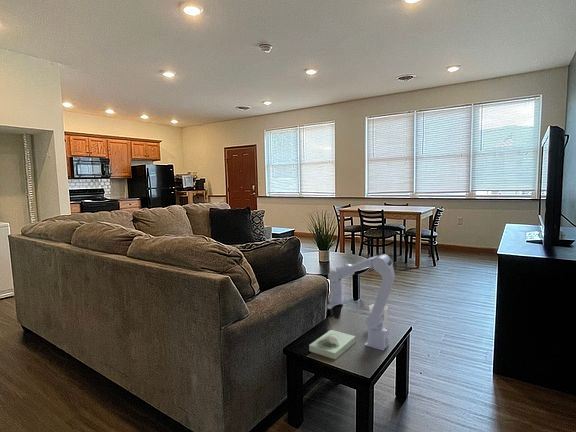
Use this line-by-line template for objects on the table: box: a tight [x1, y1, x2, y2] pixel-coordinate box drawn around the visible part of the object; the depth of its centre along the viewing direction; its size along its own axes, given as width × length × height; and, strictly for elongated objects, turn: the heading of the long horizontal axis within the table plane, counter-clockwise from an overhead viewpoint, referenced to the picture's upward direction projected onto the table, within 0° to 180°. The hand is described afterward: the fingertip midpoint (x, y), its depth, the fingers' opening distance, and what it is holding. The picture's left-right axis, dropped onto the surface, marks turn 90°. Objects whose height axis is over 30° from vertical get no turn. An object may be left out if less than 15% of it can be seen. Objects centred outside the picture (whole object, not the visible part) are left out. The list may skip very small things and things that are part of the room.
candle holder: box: [368, 303, 389, 330], centre depth 181 cm, size 10×10×12 cm
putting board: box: [308, 329, 357, 360], centre depth 164 cm, size 14×20×3 cm
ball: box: [329, 335, 338, 344], centre depth 160 cm, size 4×4×4 cm
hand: (336, 318), depth 174 cm, fingers closed
